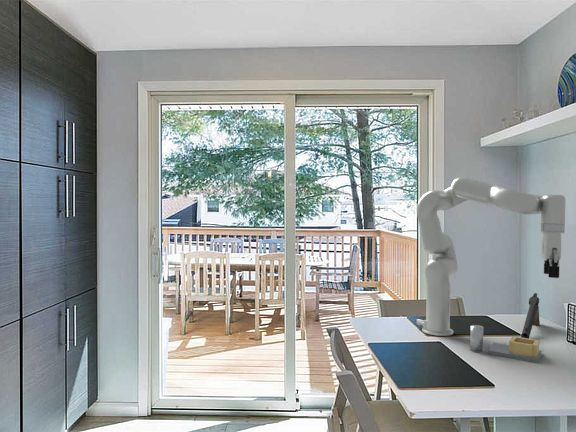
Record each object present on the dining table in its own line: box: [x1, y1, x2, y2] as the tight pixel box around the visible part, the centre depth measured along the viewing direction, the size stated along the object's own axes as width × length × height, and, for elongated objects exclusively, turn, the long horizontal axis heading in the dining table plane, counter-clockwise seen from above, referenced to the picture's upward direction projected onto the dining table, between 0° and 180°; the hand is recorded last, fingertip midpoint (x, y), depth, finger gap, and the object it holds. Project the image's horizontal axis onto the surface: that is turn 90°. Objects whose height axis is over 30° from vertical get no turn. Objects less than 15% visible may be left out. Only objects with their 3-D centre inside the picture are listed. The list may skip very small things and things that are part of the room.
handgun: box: [520, 292, 541, 339], centre depth 192 cm, size 31×4×15 cm, turn 143°
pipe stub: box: [469, 324, 484, 354], centre depth 165 cm, size 4×4×9 cm
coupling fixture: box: [487, 336, 543, 364], centre depth 162 cm, size 16×12×5 cm
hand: (551, 275), depth 163 cm, fingers open, 9 cm apart
